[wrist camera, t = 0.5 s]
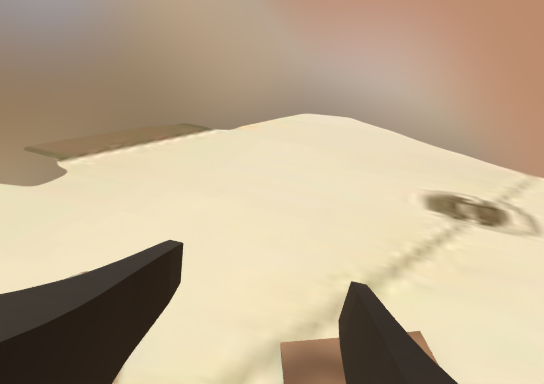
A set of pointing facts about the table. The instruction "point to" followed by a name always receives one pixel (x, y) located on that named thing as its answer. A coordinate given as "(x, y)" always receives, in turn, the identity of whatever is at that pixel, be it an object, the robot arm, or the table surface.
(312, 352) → the plate
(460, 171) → the table surface
